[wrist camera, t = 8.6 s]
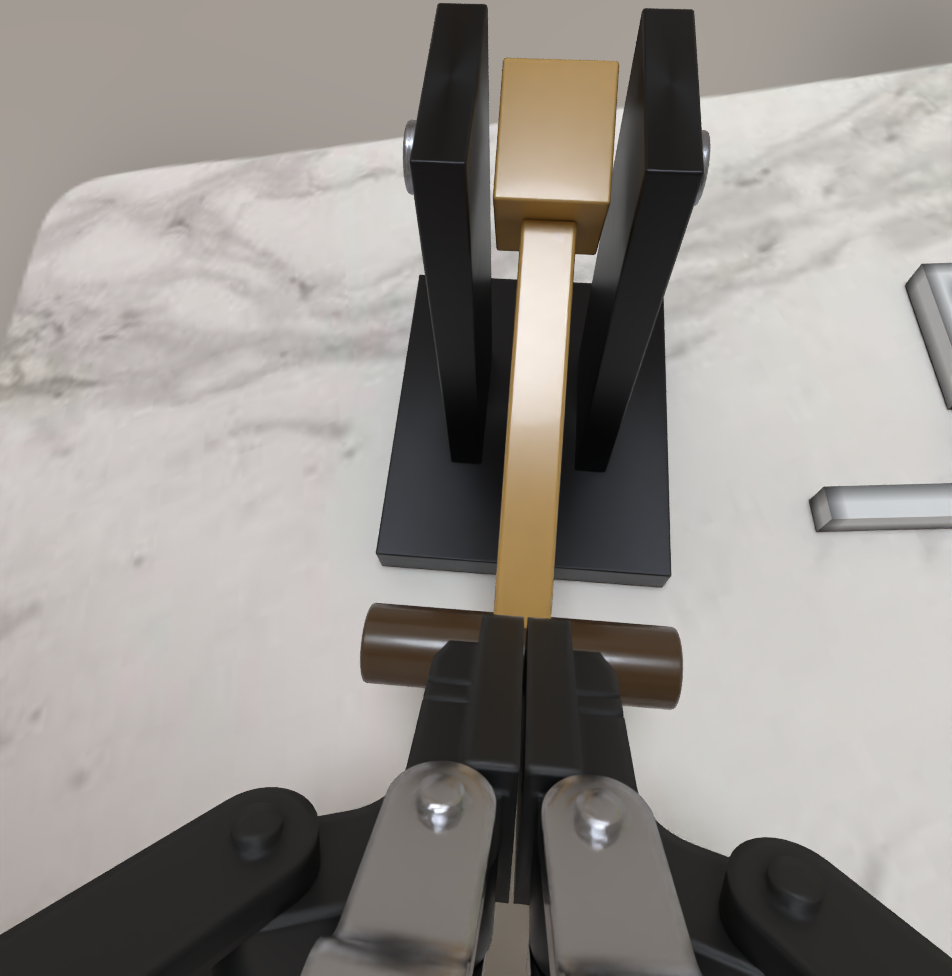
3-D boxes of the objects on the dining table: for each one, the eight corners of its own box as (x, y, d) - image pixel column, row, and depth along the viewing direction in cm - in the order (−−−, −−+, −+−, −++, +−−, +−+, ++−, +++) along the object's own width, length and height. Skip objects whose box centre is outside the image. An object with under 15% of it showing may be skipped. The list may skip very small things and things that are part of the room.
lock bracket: (662, 587, 22) (856, 343, 10) (381, 565, 22) (250, 310, 10) (656, 307, 26) (785, -89, 14) (422, 295, 27) (363, -95, 15)
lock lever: (658, 694, 14) (687, 726, 12) (377, 669, 15) (351, 695, 12) (689, 137, 15) (722, 62, 13) (421, 127, 16) (404, 53, 13)
